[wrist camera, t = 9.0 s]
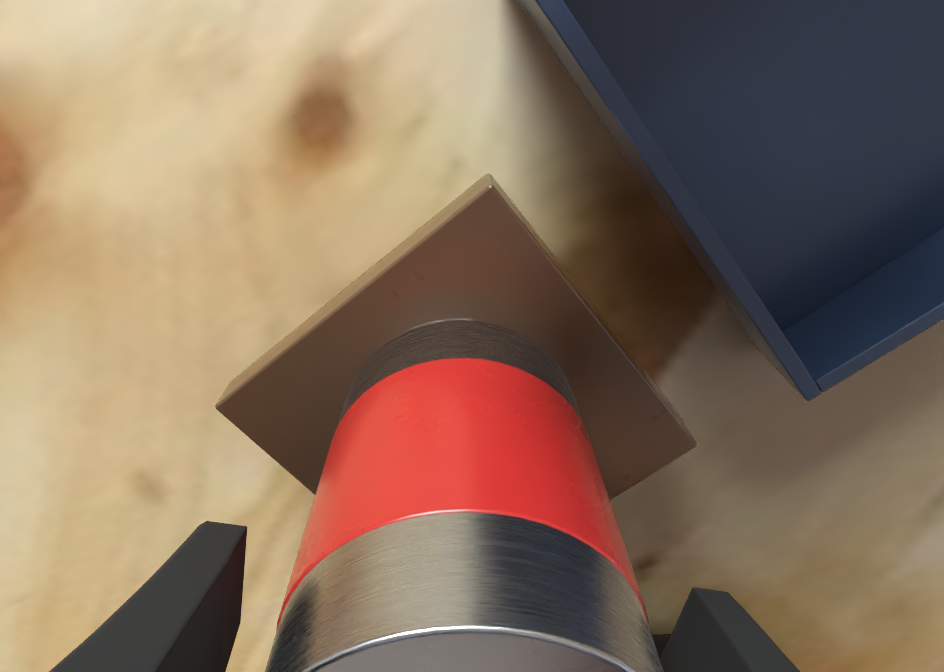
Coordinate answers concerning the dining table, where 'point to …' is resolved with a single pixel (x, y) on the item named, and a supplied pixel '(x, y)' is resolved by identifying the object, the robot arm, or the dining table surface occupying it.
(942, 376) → the dining table surface
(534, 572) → the can
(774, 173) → the carton
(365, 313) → the square board
